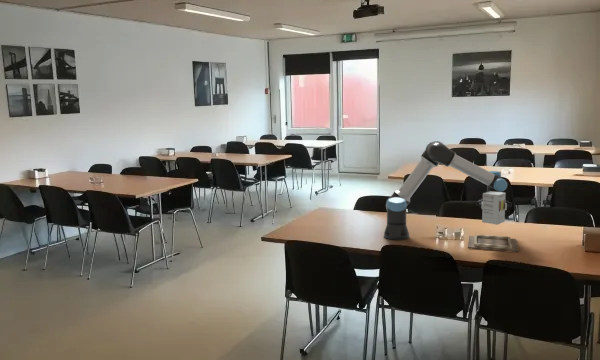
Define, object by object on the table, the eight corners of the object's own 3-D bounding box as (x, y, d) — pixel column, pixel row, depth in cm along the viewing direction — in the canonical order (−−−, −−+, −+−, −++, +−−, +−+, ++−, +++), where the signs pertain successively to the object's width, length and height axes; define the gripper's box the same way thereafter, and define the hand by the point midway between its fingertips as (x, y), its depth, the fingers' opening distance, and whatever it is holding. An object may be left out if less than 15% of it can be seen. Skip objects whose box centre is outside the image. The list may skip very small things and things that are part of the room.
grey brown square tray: (467, 248, 284) (467, 244, 284) (469, 237, 306) (469, 233, 306) (518, 252, 275) (518, 247, 275) (515, 240, 298) (516, 236, 297)
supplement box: (497, 225, 280) (498, 195, 277) (481, 222, 286) (482, 193, 284) (504, 221, 287) (506, 192, 284) (489, 219, 293) (490, 190, 290)
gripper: (515, 206, 300) (517, 214, 280) (472, 204, 309) (471, 212, 288) (515, 194, 299) (517, 201, 279) (472, 192, 307) (471, 199, 287)
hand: (494, 207), depth 284 cm, fingers closed on supplement box, 12 cm apart
